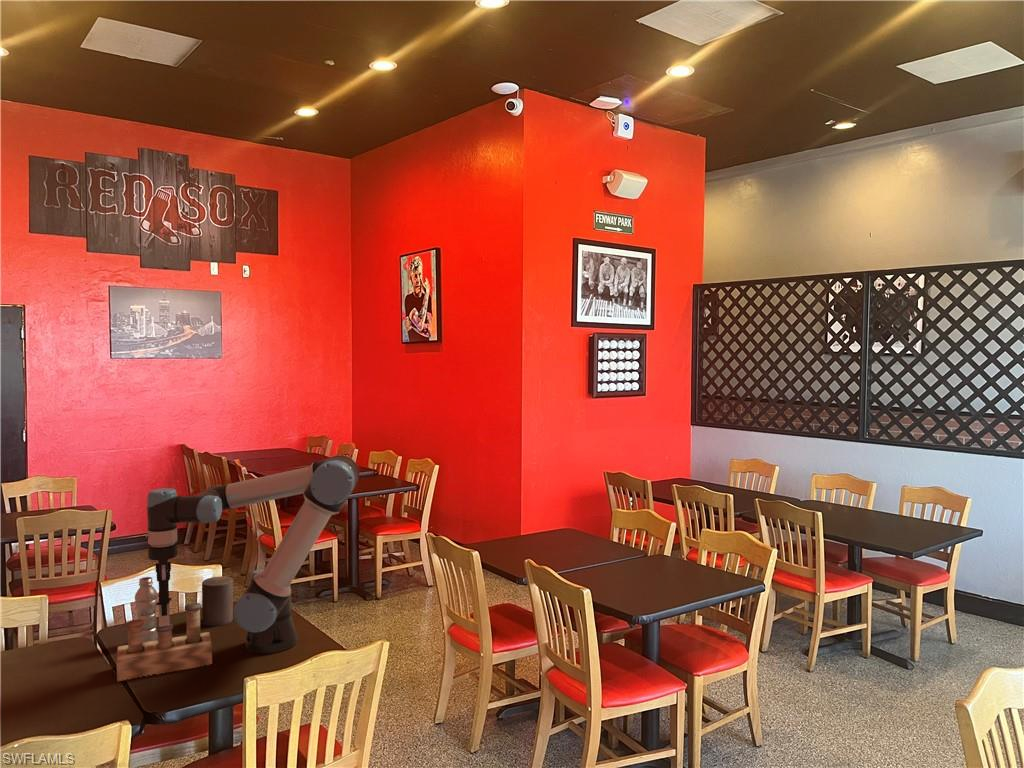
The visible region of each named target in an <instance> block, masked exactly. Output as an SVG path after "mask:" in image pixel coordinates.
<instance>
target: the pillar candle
mask: <svg viewBox="0 0 1024 768" xmlns="http://www.w3.org/2000/svg"><path fill="white" fill-rule="evenodd" d="M233 581H234V579H233V578H232V577H229V576H224V575H223V576H213V577H212V576H211V577H209V578H208V577H207V578H205V579H204V580H203V581H202V583H201V616H202V621H201V624H202V625H203V626H205V625H206V627H219V626H223V625H224V624H225V625H227V624H230V623H231V622H232V621H234V582H233ZM225 625H224V626H225Z"/></svg>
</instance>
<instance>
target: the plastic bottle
mask: <svg viewBox="0 0 1024 768" xmlns="http://www.w3.org/2000/svg"><path fill="white" fill-rule="evenodd" d="M138 580H139V582H138V586H139V587H138V589H137V590H136V592H135V595H134V602H135V607H136V619H142V620H144V624H143V625H142V642H149V641H156V640H158V632H157V631H156V627H157V626H158V623H157V605H156V603H157V602H158V595H159V593H158V591H157V590H156V588H155V587H154V586H153V583H154V582H153V577H152V576H145V577H141V578H139V579H138Z"/></svg>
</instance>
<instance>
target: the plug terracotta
mask: <svg viewBox="0 0 1024 768" xmlns="http://www.w3.org/2000/svg"><path fill="white" fill-rule="evenodd" d="M143 624H144V620H142V619H137V618H136V619H130V620H128V621H127V622H126V623H125V627H126V628H127V645H128V654H133V653H139V652H143V642H142V625H143Z"/></svg>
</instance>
